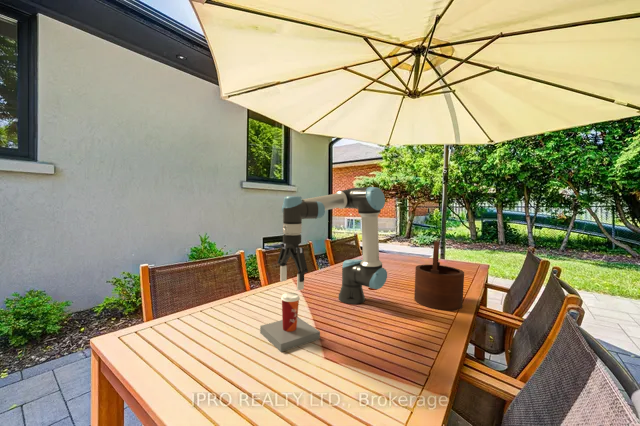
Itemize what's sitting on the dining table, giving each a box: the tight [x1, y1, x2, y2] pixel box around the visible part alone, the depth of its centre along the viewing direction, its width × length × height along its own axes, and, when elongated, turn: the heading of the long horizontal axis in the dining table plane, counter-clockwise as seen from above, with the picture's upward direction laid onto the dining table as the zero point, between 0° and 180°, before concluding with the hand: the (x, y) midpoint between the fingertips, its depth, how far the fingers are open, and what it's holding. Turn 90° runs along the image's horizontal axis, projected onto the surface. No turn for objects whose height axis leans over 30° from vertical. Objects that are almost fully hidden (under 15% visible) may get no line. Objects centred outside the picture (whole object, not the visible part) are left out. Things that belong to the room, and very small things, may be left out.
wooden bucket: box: [413, 241, 465, 312], centre depth 159 cm, size 26×26×35 cm
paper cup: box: [280, 292, 301, 332], centre depth 114 cm, size 8×8×14 cm
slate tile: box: [259, 317, 321, 353], centre depth 114 cm, size 18×18×3 cm
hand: (291, 285), depth 114 cm, fingers open, 13 cm apart
